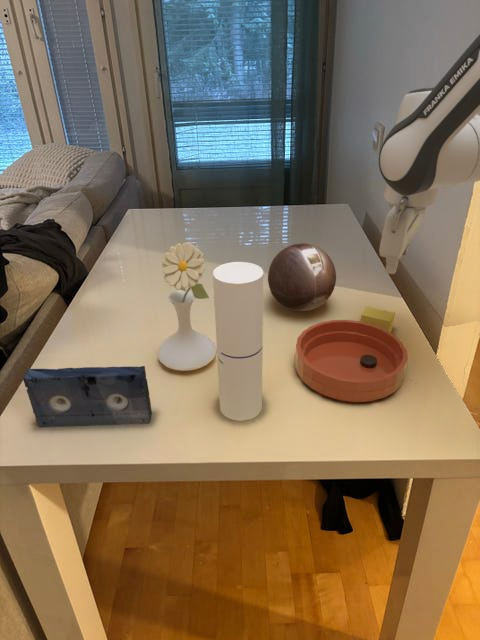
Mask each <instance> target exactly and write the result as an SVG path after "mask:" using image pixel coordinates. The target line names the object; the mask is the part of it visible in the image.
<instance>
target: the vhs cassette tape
mask: <svg viewBox="0 0 480 640" xmlns="http://www.w3.org/2000/svg"><path fill="white" fill-rule="evenodd" d="M22 381H23V383H24V387H25V388H27V389H26V393H27V396H28V399H29V401H30V405H31V408H32V412H33V415H34V416H35V421H36V423H37V426H38V427H40V428H43V427H45V428H47V427H73V426H108V425H109V426H110V425H135V424H139V425H140V424H149V423H150V422H151V418H152V415H153V411H152V404H151V397H150V390H149V389H150V388H149V385H148V379H147V372H146V366H145V365H142V366H106V367H105V366H92V367H91V366H89V367H87V366H86V367H64V368H27V371H26V372H25V373H24V375H23V378H22Z"/></svg>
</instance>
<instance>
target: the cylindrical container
mask: <svg viewBox="0 0 480 640" xmlns="http://www.w3.org/2000/svg"><path fill="white" fill-rule="evenodd" d="M212 277H213V278H212V281H213V282H212V283H213V300H214V301H213V302H214V319H215V320H214V321H215V337H216V338H215V339H216V340H215V341H216V349H217V351H216V358H217V377H218V394H219V395H218V397H219V398H218V399H219V409H220V412H221V413H222V415H223V416H224V417H226V418H227V419H229V420H232V421H240V422H244V421H249V420H253V419H254V418H256V417H258V415H259V414H260V413H261V411H262V410H263V356H264V355H263V349H264V348H263V347H264V346H263V344H264V341H263V340H264V269H263V268H262V267H261V266H260V265H257V264H255V263H251V262H247V261H232V262H231V261H230V262H226V263H223V264H220V265H218V266H217V267H215V268H214V270H212Z"/></svg>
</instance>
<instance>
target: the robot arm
mask: <svg viewBox="0 0 480 640" xmlns="http://www.w3.org/2000/svg"><path fill="white" fill-rule="evenodd" d="M478 113H480V34H478V36H477V37H476V38H475V39H474V40H473V41H472V43H470V44H469V46H468V47H467V48H466V49H465V50H464V52H463V53H462V54H461V55H460V57H458V59H457V60H456V61H455V62H454V63H453V64H452V66H451V67H450V69H448V71H447V72H446V73H445V75H443V77H442V78H441V79H440V80H439V82H438V83H437V84H436V85H435V86H433V87H425V88H424V87H423V88H417V89H413V90H410V91H409V92H408V93H406V94H404V96H403V98H402V100H401V103H400V105H399V108H398V111H397V115H396V118H395V122H394V126H393V127H392V128H391V129H390V131H389V132H388V134H387V135H386V137H385V139H384V140H383V142H382V144H381V148H380V149H379V153H378V169H379V171H380V175H381V176H382V178H383V180H384V181H385V182H384V187H383V194H382V199H383V200H384V201H385V202H387V203H388V208H389V211H388V212H387V215H386V217H385V220H384V224H383V228H382V233H381V239H380V244H379V249H378V250H379V256H380V257H383V258H385V263H386V265H385V270H384V271H385V273H386V274H389V275H395V274H396V272H397V270H398V266H399V260H400V259H401V257H402V256H406V255H407V254H408V252H409V247H410V243H411V241H412V239H413V237H414V235H415V234H416V232H417V231H418V228H419V227H420V225H421V224H422V221H423V220H424V216H425V214H426V211H427V207H430V206H433V205H434V204H435V203H436V200H437V194H438V192H439V189H445V188H451V187H452V188H453V187H457V186H463V185H468V184H474V183H476V182H480V115H479V114H478Z"/></svg>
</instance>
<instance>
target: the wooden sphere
mask: <svg viewBox="0 0 480 640" xmlns="http://www.w3.org/2000/svg"><path fill="white" fill-rule="evenodd" d="M336 282H337V271H336V267H335V264H334V262H333V260H332V258H331V257H330V256H329V254H328V253H327V252H326V251H325V250H324V249H322V248H320V247H318V246H316V245H313V244H309V243H296V244H295V243H294V244H291V245H288V246H287V247H285V248H283V249H282V250H281V251H279V252H278V253H277V254H276V255H275V257H274V258H273V260H272V261H271V263H270V265H269V269H268V273H267V283H268V288H269V291H270V293H271V295H272V296H273V298H274V299H275V301H277V302H278V303H279V304H280V305H281V306H283V307H284V308H286V309H288V310H292V311H294V312H309V311H312V310H315V309H317V308H319V307H321V306H322V305H324V304H325V303H326V302H327V301H328V300H329V299H330V297H331V296H332V294H333V292H334V290H335V287H336Z"/></svg>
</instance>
